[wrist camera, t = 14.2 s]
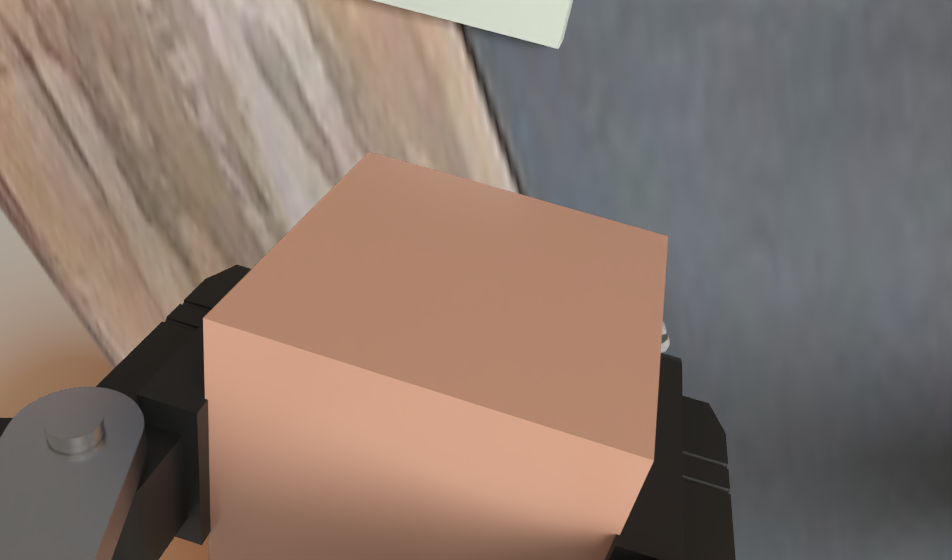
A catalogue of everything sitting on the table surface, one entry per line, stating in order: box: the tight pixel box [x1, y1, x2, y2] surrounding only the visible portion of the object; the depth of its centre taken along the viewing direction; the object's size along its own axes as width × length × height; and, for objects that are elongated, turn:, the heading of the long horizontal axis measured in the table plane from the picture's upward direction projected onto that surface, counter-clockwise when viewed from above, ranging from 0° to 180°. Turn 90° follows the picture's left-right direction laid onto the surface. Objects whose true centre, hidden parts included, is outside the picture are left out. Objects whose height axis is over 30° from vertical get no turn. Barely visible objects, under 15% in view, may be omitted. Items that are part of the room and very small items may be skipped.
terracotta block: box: [203, 152, 668, 560], centre depth 10 cm, size 4×4×4 cm
